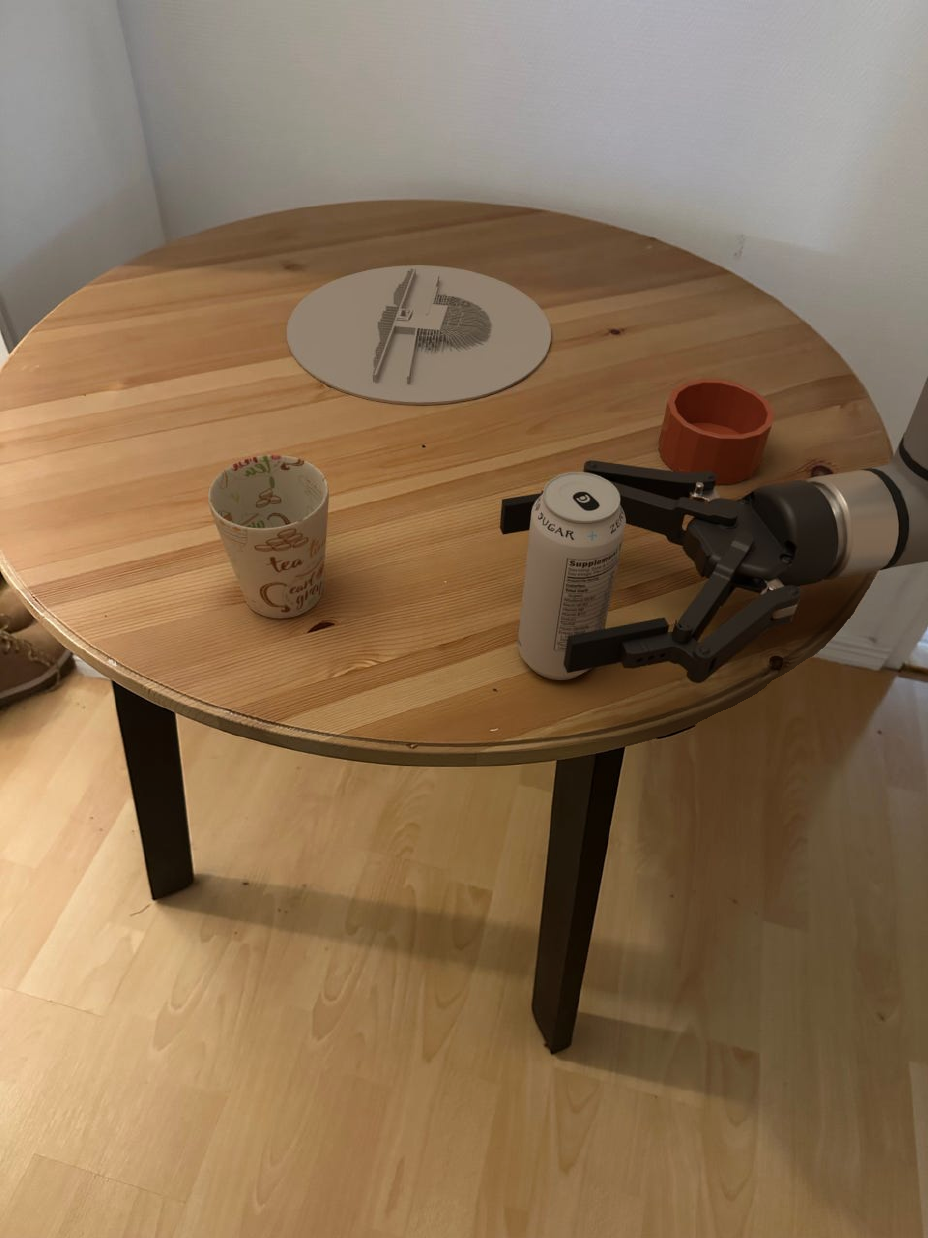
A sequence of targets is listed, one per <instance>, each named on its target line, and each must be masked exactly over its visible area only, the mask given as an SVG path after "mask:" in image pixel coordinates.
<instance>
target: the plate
mask: <svg viewBox="0 0 928 1238" xmlns="http://www.w3.org/2000/svg"><path fill="white" fill-rule="evenodd" d="M286 341H287V342H286V343H287V345H288V346H287V347H288V349H289V351H290V353H291V355H292V357H293V359H294V360H295V362H297V363H298V364H299V366H300V367H301V368H302V369H303V370H305V372H307V373H308V374H310V375H311V376H312V377H313V378H315V379H316V380H318V381H319V382H321V383H323V384H325V385H327V386H329V387H331V388H333V389H335V390H337V391H339V392H342V393H345V394H348V395H350V396H354V397H357V398H361V399H364V400H369V401H375V402H379V403H380V402H381V403H386V404H394V405H403V406H404V405H405V406H406V405H407V406H436V405H437V406H438V405H450V404H456V403H462V402H467V401H468V402H469V401H471V400H476V399H481V398H484V397H487V396H490V395H492V394H495V393H498V392H502V391H503V390H506V389H509V388H511V387H512V386H515V385H516V384H518V383H521V382H522V381H523V380H525V379H526V378H527V377H529V376H530V375H531V374H532V373H534V372H535V371H536V370H537V369H538V368H539V367H540V366H541V364H542V363H543V362H544V361H545V359H546V357H547V355H548V353H549V351H550V346H551V342H552V328H551V324H550V322H549V319H548V318H547V315H546V314H545V312H544V311H543V309H542V308H541V307H540V305H538V304H537V302H535V301H534V300H533V299H532V298H530V297H529V296H528V295H527V294H525V293H524V292H522V291H521V290H519V289H518V288H516V287H514V286H512V285H510V284H509V283H507V282H505V281H502V280H499V279H497V278H495V277H491V276H490V275H486V274H483V273H479V272H476V271H471V270H467V269H462V268H456V267H450V266H442V265H429V264H428V265H427V264H411V265H406V264H405V265H394V266H385V267H378V268H377V267H376V268H371V269H367V270H363V271H359V272H355V273H351V274H349V275H345V276H343V277H340V278H337V279H334V280H332V281H329V282H328V283H326V284H325V283H324V284H323V285H321V286H320V287H318V288H316V289H315V290H313V291H312V292H310V293H309V294H308V295H306V296H305V297H304V298H303V299H302V300H300V302H299V303H298V304H296V306H295V308H294V309H293V310H292V312H291V314H290V315H289V318H288V321H287V324H286Z"/></svg>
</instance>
